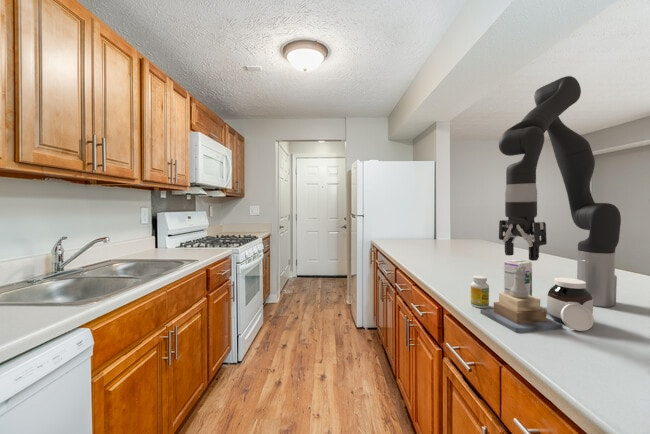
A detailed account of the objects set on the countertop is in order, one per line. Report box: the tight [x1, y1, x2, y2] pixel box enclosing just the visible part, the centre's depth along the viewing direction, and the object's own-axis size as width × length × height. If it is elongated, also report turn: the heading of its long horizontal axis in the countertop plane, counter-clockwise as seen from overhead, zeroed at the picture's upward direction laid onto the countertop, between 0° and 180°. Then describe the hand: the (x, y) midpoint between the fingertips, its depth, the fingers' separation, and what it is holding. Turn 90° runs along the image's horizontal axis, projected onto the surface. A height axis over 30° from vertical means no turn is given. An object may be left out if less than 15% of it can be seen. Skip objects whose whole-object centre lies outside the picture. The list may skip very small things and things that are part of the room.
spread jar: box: [546, 277, 595, 332], centre depth 83 cm, size 12×11×12 cm
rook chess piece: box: [510, 268, 528, 298], centre depth 85 cm, size 4×4×8 cm
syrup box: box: [503, 259, 533, 296], centre depth 99 cm, size 6×6×14 cm
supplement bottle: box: [470, 275, 490, 309], centre depth 98 cm, size 5×5×10 cm
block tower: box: [480, 292, 564, 333], centre depth 86 cm, size 14×14×7 cm
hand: (520, 257), depth 85 cm, fingers open, 8 cm apart
